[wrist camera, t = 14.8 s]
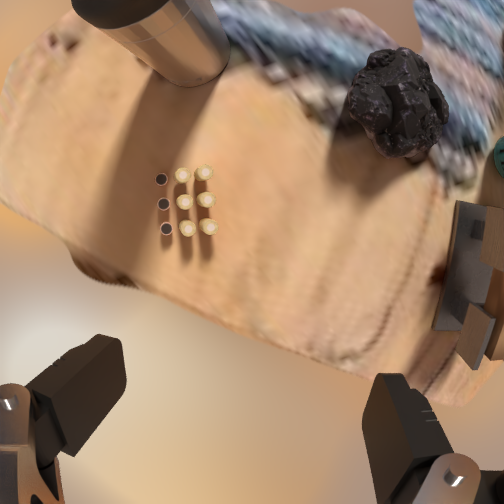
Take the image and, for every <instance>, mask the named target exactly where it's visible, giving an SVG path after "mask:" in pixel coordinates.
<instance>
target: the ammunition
mask: <svg viewBox="0 0 504 504" xmlns="http://www.w3.org/2000/svg"><path fill="white" fill-rule="evenodd" d="M212 176H213V169H212V167H211V166H209V165H206V164H205V165H202V166H200V167H199V168H197V169H196V170H195V172H194V177H195V179H196V180H198V181H205V180H209V179H210V178H211V177H212ZM190 177H191V173H190V171H189V170H188V169H187V168H184V167H182V168H179V169H178V170H177V171H176V172H175V174H174V180H175V182H177V183H178V184H182V183H185V182H187V181H188V180H189V179H190ZM167 181H168V177H167V175H166V174H164V173H159V174H157V175H156V177H155V182H156V184H157V185H159V186H163V185H165V184H166V183H167ZM196 201H197V203H198V205H200V206H202V207H206V208H210V207H212V206H213V205H214V204H215V202H216V197H215V195H214V194H213V193H211V192H203V193H200V194H199V195H198V196H197V199H196ZM176 204H177V206H178V207H179V208H181V209H183V210H188V209H190V208H191V207H192V205H193V199H192V197H191V196H190V195H187V194H184V195H180V196H179V197H178V198H177V200H176ZM157 206H158V208H159V209H160V210H163V211H164V210H167V209H168V208H169V207H170V201H169V200H168V199H167V198H160V199H159V200H158V202H157ZM199 228H200V229H201V230H202V231H203V232H204V233H206V234H207V235H214V234H215V233H216V232H217V231H218V223H217V222H216V221H215V220H212V219H209V218H203V219H201V220H200V222H199ZM179 230H180V231H181V233H182V234H183V235H184V236H186V237H190V236H193V235H194V234H195V232H196V226H195V224H194V223H192V222H191V221H189V220H182V221H181V222H180V223H179ZM160 231H161V233H162V234H164V235H169V234H171V233H172V231H173V227H172V225H171V224H170V223H169V222H163V223H162V224H161V225H160Z"/></svg>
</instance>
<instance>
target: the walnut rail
mask: <svg viewBox="0 0 504 504" xmlns="http://www.w3.org/2000/svg"><path fill="white" fill-rule="evenodd" d="M483 309H484V310H485V311H487V312H488V313H489V314H491V315H492V316H493V317H494V318H496V320H495V323H494V327H493V330H492V333H491V336H490V339H489V341H488V344H487V347H486V350H485V353H484V354H485V355H486V356H487V357H488V359H489V360H490V361H492V360H504V272H502V271H500V270H498V269H496V268H494V267H493V271H492V276H491V280H490V285H489V289H488V293H487V297H486V300H485V304H484V308H483Z"/></svg>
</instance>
